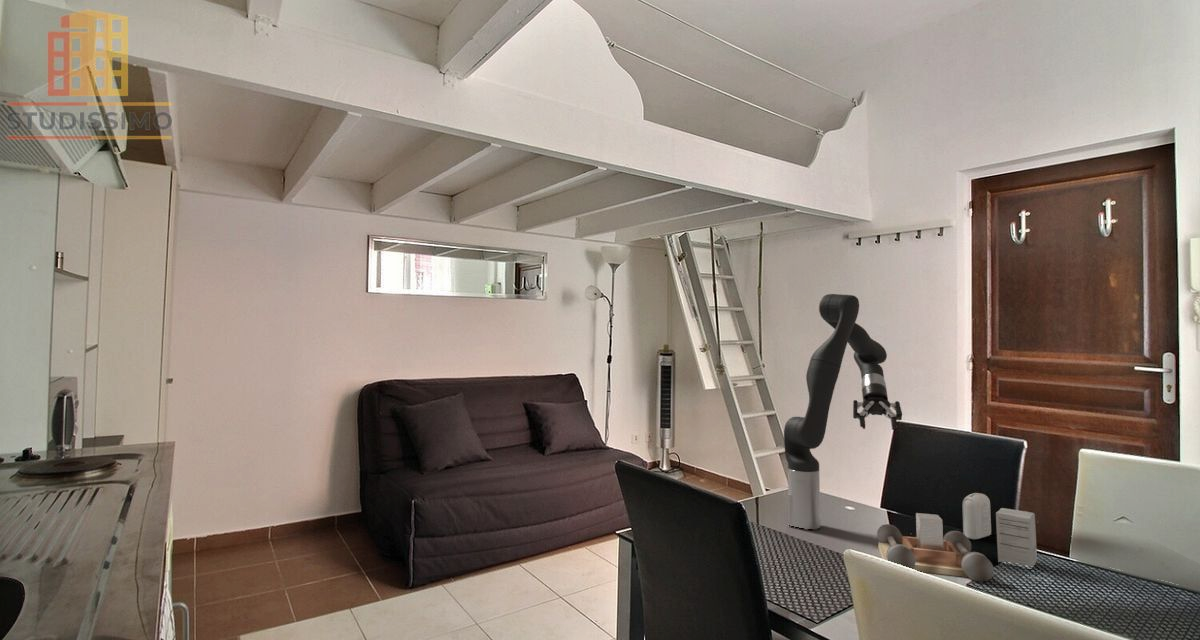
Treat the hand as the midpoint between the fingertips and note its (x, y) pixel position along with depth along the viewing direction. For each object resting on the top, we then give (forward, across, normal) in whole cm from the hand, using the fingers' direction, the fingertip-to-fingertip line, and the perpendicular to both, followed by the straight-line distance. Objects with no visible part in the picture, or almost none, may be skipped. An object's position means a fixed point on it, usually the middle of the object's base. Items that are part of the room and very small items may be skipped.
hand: (878, 427), depth 180 cm
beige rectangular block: (+44, +8, -4) cm, 45 cm away
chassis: (+45, +8, -3) cm, 46 cm away
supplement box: (+39, +28, +3) cm, 49 cm away
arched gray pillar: (+23, +25, +20) cm, 40 cm away
